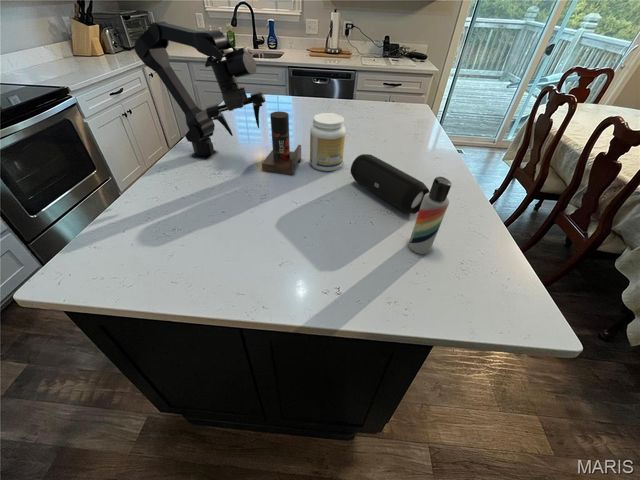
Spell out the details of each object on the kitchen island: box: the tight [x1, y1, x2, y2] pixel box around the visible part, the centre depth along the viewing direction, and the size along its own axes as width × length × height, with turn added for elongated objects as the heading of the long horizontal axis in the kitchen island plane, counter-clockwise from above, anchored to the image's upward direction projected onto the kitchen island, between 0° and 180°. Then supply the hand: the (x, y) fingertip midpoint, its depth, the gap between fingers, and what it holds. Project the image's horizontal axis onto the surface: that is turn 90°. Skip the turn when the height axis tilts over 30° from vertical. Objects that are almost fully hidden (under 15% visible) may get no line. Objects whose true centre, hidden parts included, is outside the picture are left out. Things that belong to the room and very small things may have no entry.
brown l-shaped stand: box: [261, 144, 302, 176], centre depth 106 cm, size 11×12×6 cm
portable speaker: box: [350, 153, 430, 215], centre depth 92 cm, size 26×10×10 cm, turn 37°
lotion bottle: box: [408, 176, 453, 255], centre depth 70 cm, size 6×6×20 cm
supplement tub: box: [309, 112, 346, 172], centre depth 104 cm, size 12×12×17 cm
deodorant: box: [269, 111, 291, 161], centre depth 101 cm, size 6×6×15 cm
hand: (245, 131), depth 99 cm, fingers open, 9 cm apart
